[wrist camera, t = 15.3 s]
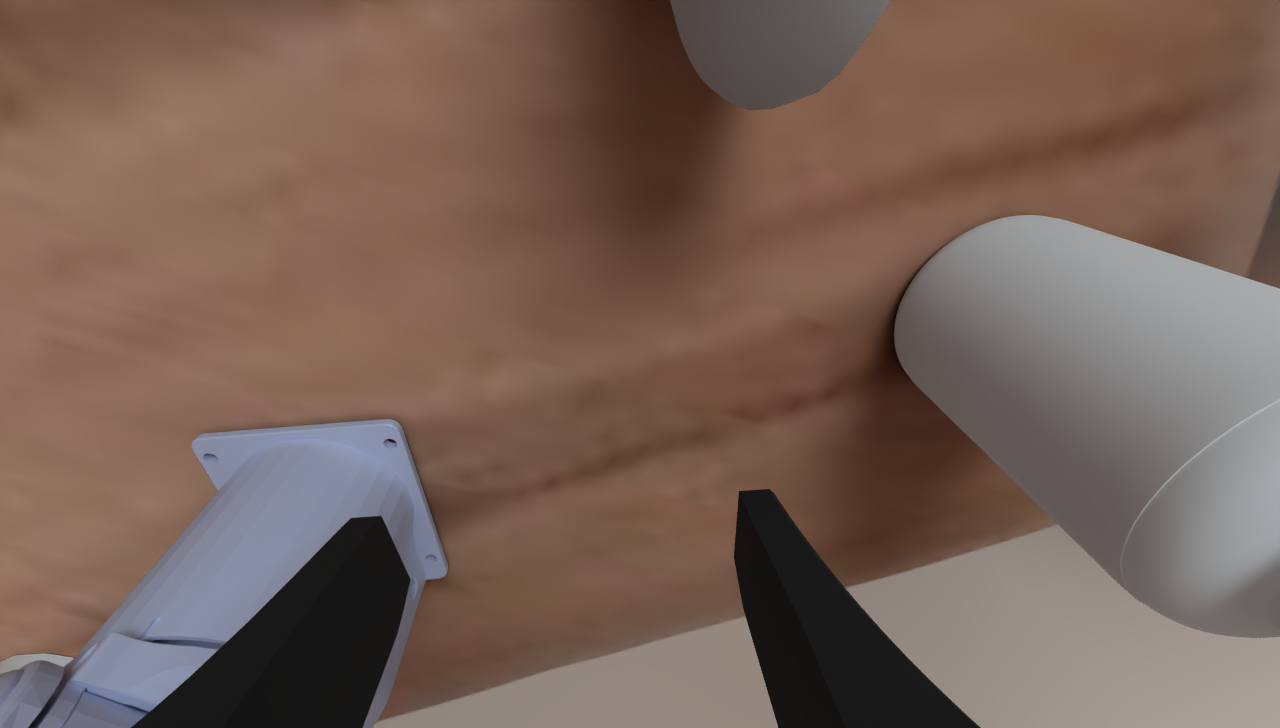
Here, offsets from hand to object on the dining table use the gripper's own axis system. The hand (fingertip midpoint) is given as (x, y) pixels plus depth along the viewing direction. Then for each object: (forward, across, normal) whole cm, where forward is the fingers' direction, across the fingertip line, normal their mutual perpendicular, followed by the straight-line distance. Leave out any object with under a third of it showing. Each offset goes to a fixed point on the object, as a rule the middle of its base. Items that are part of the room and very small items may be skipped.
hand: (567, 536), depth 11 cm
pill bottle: (+11, -16, +1) cm, 20 cm away
